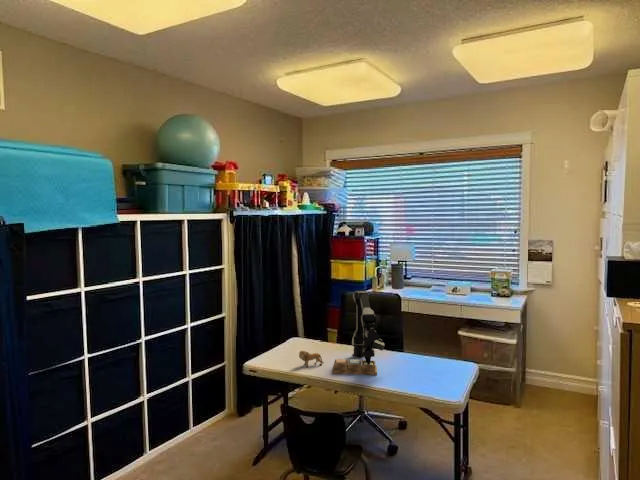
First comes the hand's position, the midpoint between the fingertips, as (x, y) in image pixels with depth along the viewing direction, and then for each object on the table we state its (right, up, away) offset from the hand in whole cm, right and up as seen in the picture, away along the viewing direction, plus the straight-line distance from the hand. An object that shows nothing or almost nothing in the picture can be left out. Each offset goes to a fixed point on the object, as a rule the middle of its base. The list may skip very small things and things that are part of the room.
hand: (368, 364), depth 241 cm
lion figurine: (-32, -4, +10) cm, 33 cm away
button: (-7, 0, +1) cm, 8 cm away
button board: (-7, -4, +1) cm, 8 cm away
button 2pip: (0, -2, 0) cm, 2 cm away
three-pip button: (-15, 0, +2) cm, 15 cm away
